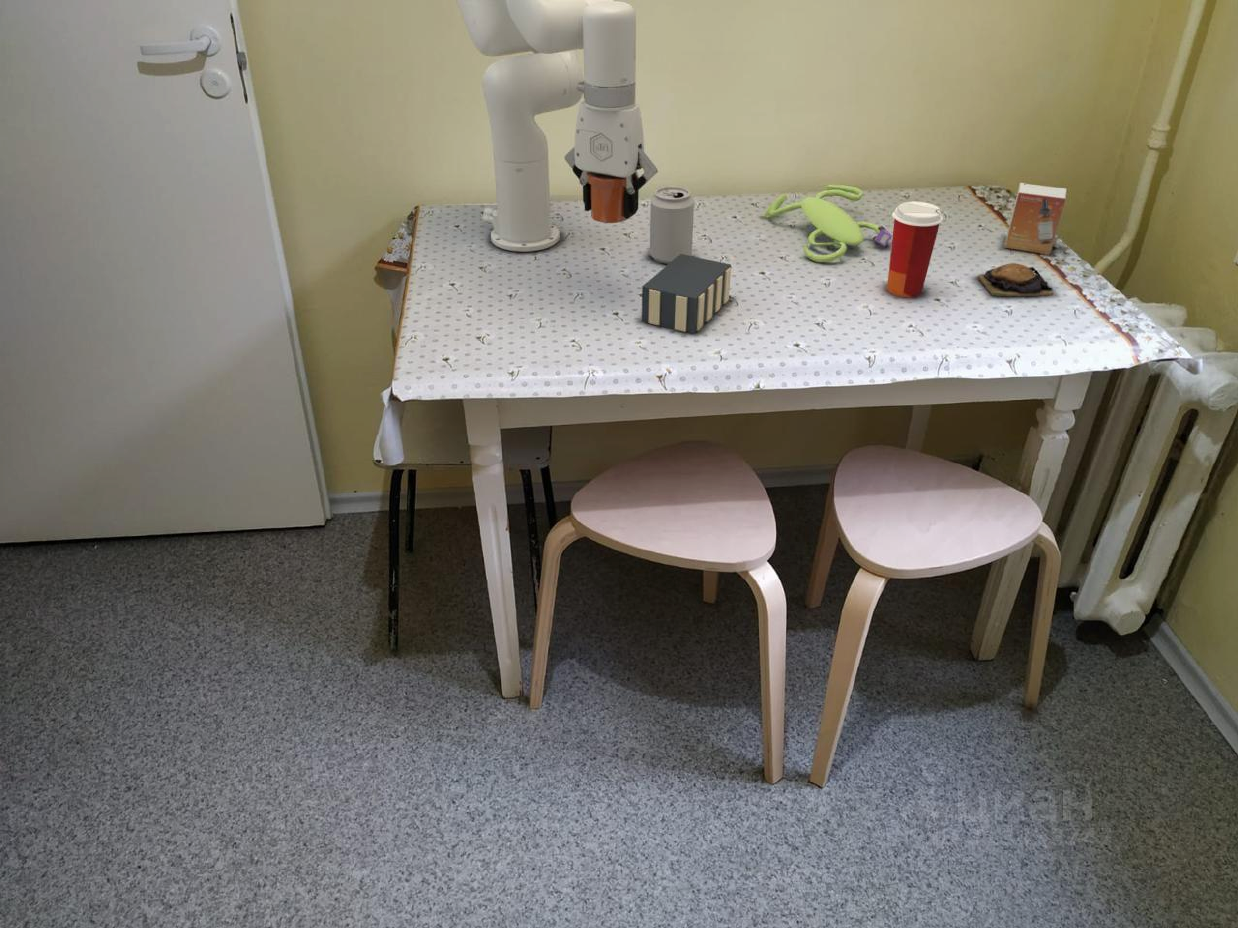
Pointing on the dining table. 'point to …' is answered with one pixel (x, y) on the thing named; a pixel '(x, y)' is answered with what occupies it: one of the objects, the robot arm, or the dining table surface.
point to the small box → (1035, 218)
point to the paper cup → (912, 247)
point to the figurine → (830, 221)
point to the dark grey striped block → (686, 293)
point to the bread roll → (1015, 281)
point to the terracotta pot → (607, 197)
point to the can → (671, 223)
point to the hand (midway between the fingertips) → (610, 211)
